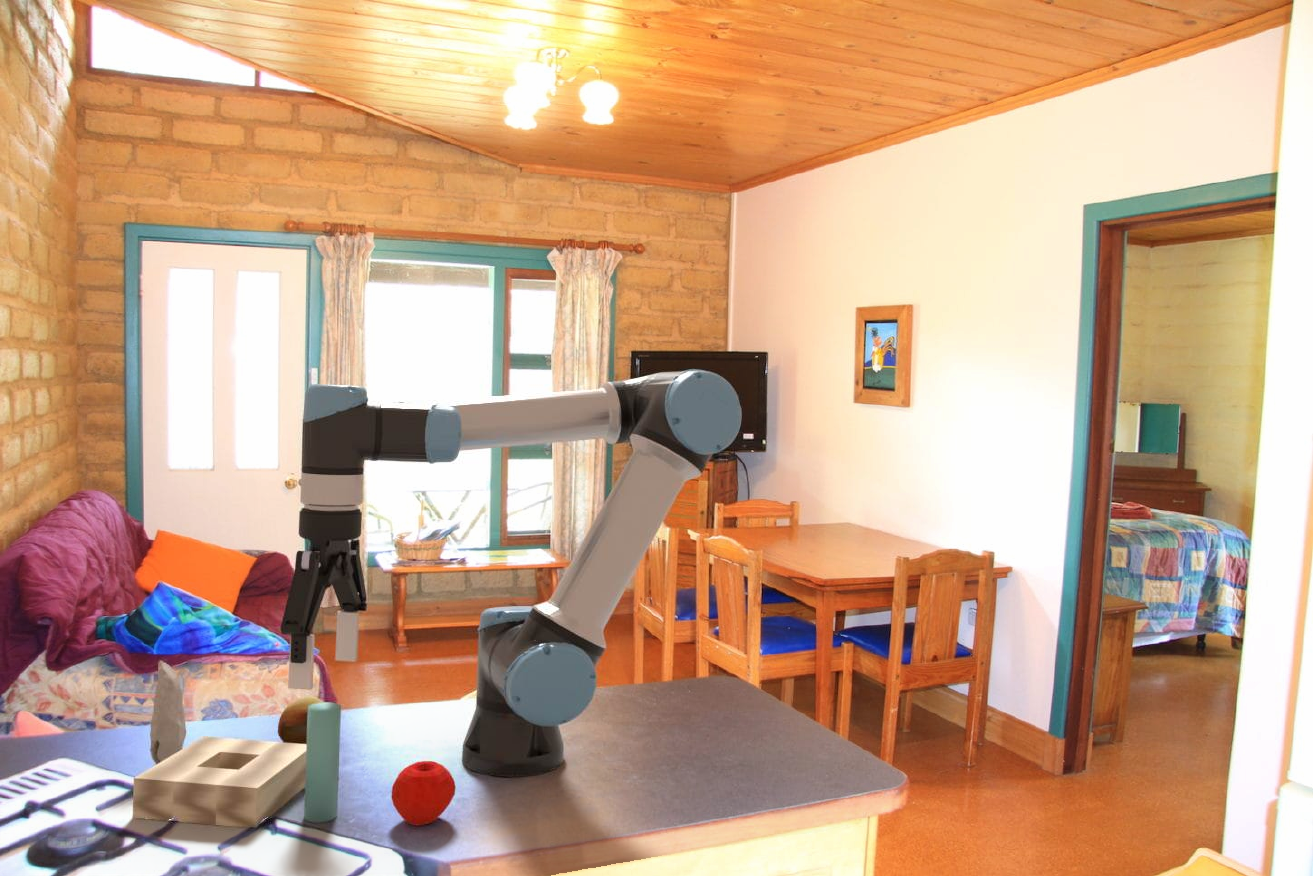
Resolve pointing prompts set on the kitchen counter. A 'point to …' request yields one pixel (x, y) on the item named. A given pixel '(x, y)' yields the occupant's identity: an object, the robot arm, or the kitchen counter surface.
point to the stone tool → (167, 715)
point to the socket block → (221, 782)
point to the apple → (422, 792)
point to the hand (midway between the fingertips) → (324, 674)
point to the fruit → (296, 721)
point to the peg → (322, 762)
